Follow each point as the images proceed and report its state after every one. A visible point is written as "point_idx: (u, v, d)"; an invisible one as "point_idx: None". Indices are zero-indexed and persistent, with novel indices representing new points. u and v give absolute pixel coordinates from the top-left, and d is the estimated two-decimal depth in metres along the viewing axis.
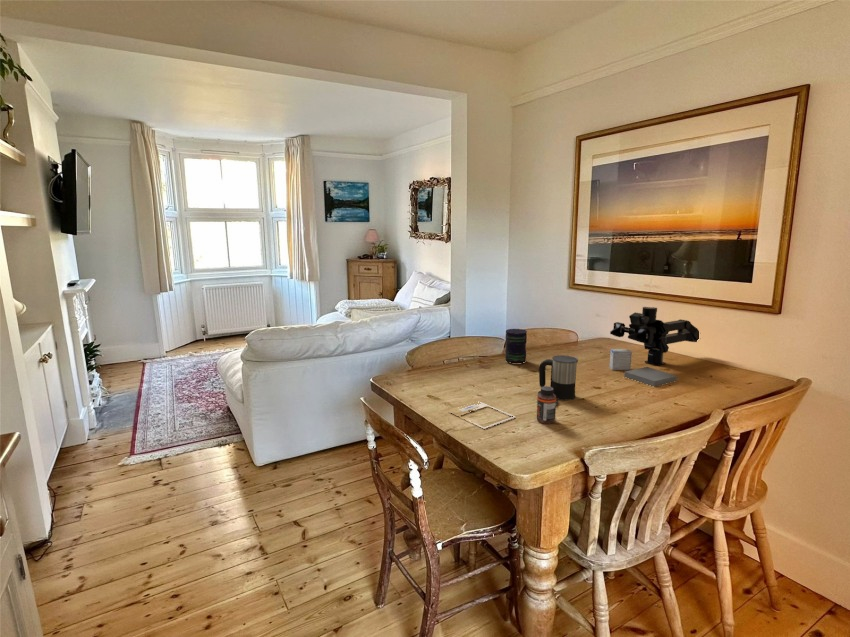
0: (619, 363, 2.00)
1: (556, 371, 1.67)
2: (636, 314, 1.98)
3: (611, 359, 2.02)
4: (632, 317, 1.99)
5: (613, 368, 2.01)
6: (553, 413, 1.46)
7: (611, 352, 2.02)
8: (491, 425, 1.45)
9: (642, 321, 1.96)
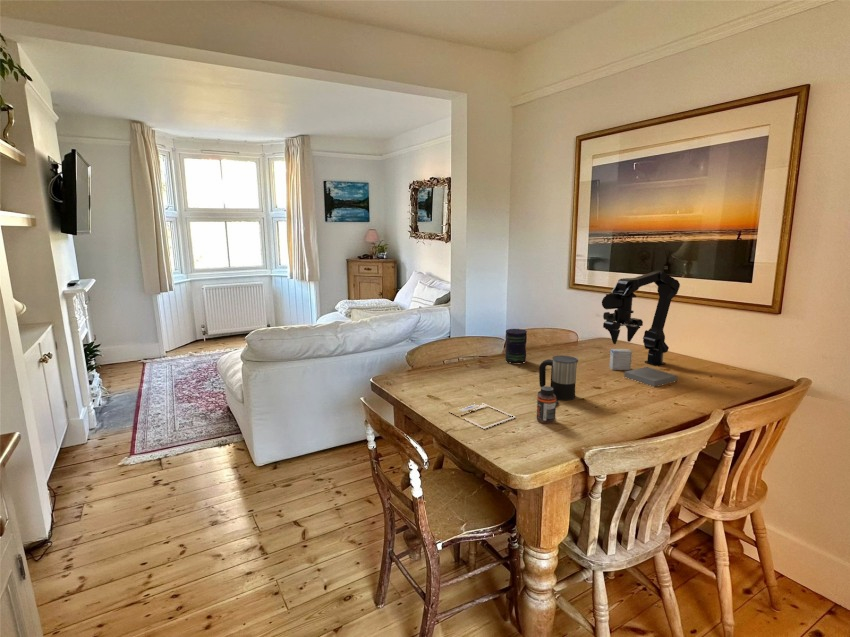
0: (619, 363, 2.00)
1: (556, 371, 1.66)
2: None
3: (611, 359, 2.02)
4: (612, 320, 2.05)
5: (613, 368, 2.01)
6: (553, 413, 1.46)
7: (611, 352, 2.02)
8: (491, 425, 1.45)
9: (608, 319, 2.01)
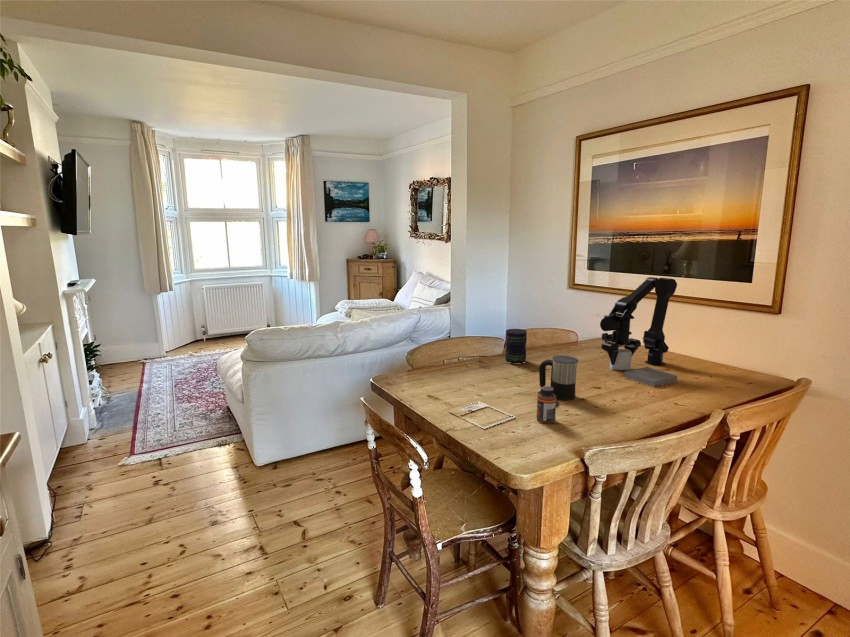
0: (619, 363, 2.00)
1: (556, 371, 1.66)
2: None
3: None
4: (610, 340, 2.07)
5: (613, 368, 2.01)
6: (553, 413, 1.46)
7: None
8: (491, 425, 1.45)
9: (606, 339, 2.03)
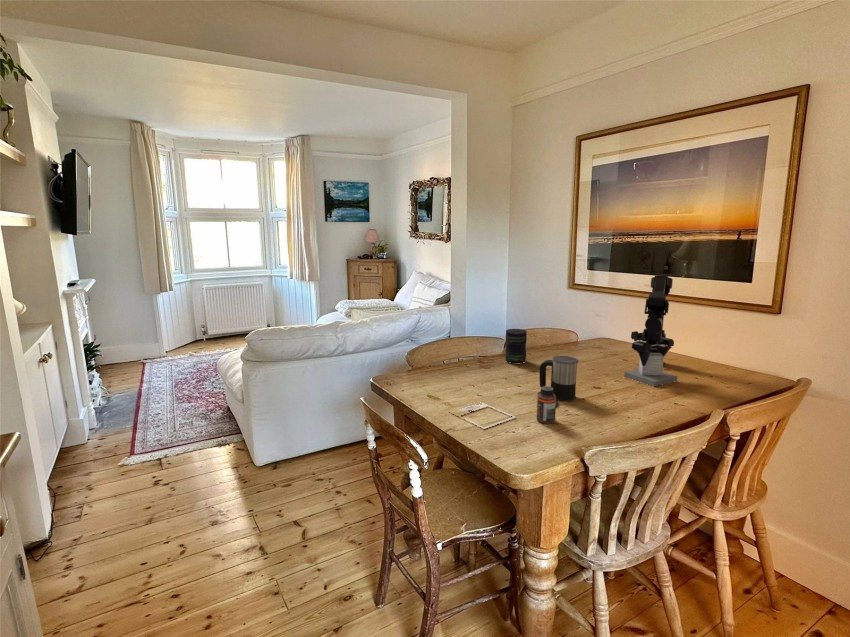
0: (650, 368, 1.85)
1: (556, 371, 1.66)
2: None
3: (641, 363, 1.87)
4: (640, 339, 1.91)
5: (643, 373, 1.86)
6: (553, 413, 1.46)
7: None
8: (491, 425, 1.45)
9: (636, 338, 1.88)
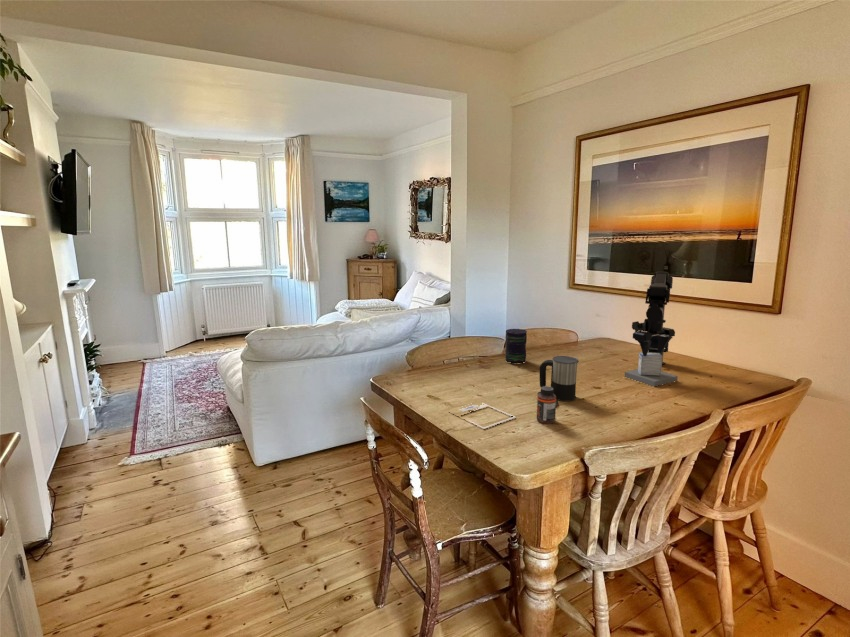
0: (648, 368, 1.85)
1: (556, 372, 1.66)
2: None
3: (639, 363, 1.87)
4: (641, 330, 1.90)
5: (641, 373, 1.86)
6: (553, 413, 1.46)
7: (639, 355, 1.87)
8: (491, 425, 1.45)
9: (637, 329, 1.87)
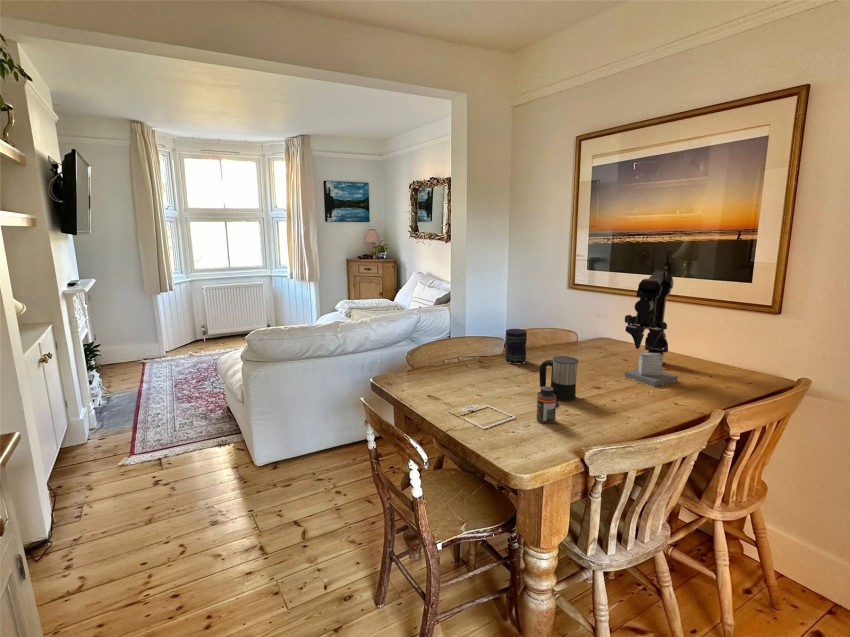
0: (649, 368, 1.85)
1: (556, 372, 1.66)
2: None
3: (640, 363, 1.87)
4: (633, 323, 1.93)
5: (642, 373, 1.86)
6: (553, 413, 1.46)
7: (640, 356, 1.87)
8: (491, 425, 1.45)
9: (630, 322, 1.90)
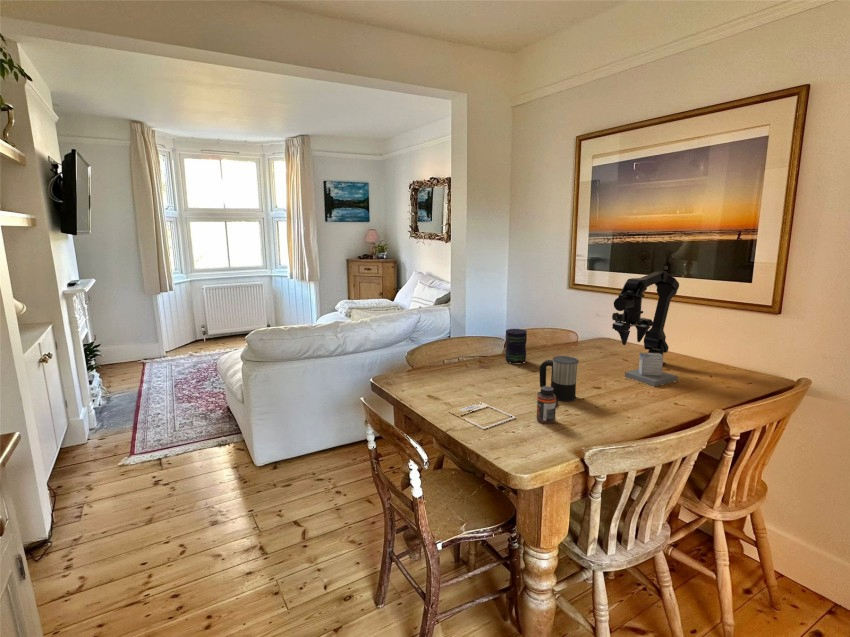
0: (649, 368, 1.85)
1: (556, 372, 1.66)
2: None
3: (640, 363, 1.87)
4: (621, 320, 2.02)
5: (642, 373, 1.86)
6: (553, 413, 1.46)
7: (640, 356, 1.87)
8: (491, 425, 1.45)
9: (617, 319, 1.98)
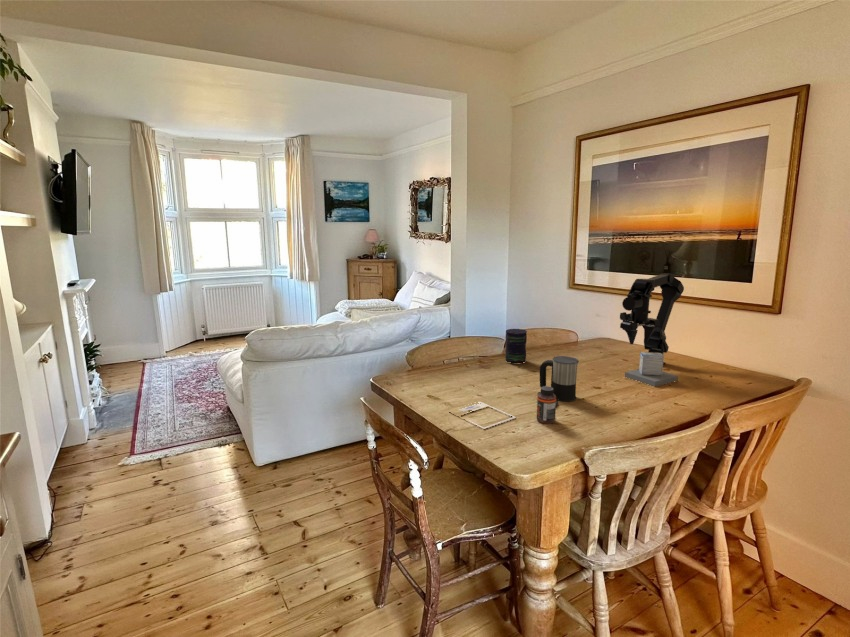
0: (649, 367, 1.85)
1: (556, 372, 1.65)
2: None
3: (641, 363, 1.87)
4: (628, 320, 2.04)
5: (642, 372, 1.86)
6: (553, 413, 1.46)
7: (641, 355, 1.87)
8: (491, 425, 1.45)
9: (624, 319, 2.01)
